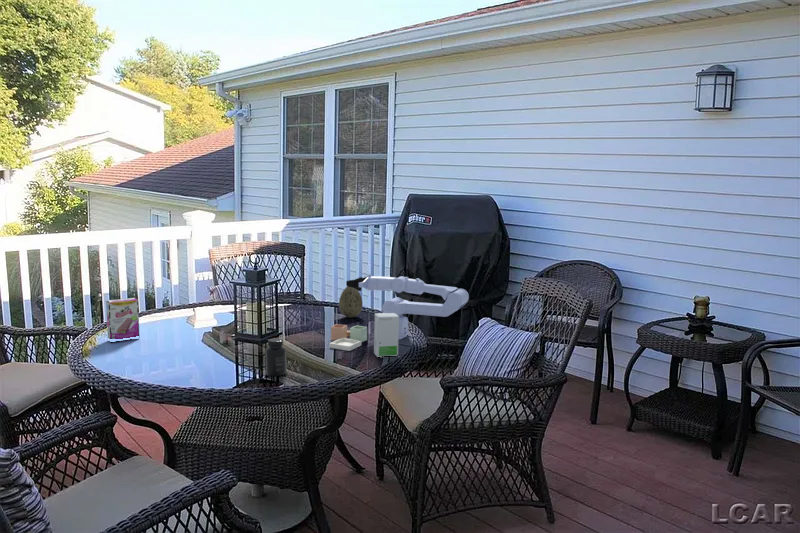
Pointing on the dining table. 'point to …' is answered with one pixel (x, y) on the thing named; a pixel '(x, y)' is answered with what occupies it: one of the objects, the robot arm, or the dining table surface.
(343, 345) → the tray
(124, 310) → the candy bar box
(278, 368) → the supplement bottle
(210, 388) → the dining table surface
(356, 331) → the pot green
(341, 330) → the pot terracotta
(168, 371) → the dining table surface
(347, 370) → the dining table surface
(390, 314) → the skincare box
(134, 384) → the dining table surface
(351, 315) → the decorative egg
